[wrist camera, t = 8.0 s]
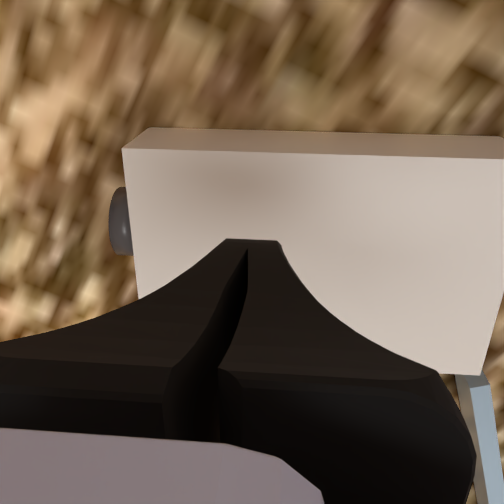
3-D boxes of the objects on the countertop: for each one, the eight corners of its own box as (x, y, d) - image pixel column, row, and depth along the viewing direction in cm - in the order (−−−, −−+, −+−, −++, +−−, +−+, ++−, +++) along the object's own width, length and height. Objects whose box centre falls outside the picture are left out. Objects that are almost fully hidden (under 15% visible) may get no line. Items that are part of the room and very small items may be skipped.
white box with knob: (499, 136, 19) (541, 160, 16) (454, 326, 23) (479, 376, 20) (125, 126, 20) (93, 147, 17) (145, 310, 24) (122, 355, 21)
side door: (449, 344, 23) (470, 388, 20) (484, 337, 22) (510, 381, 20) (480, 520, 28) (500, 574, 25) (509, 517, 28) (532, 571, 25)
